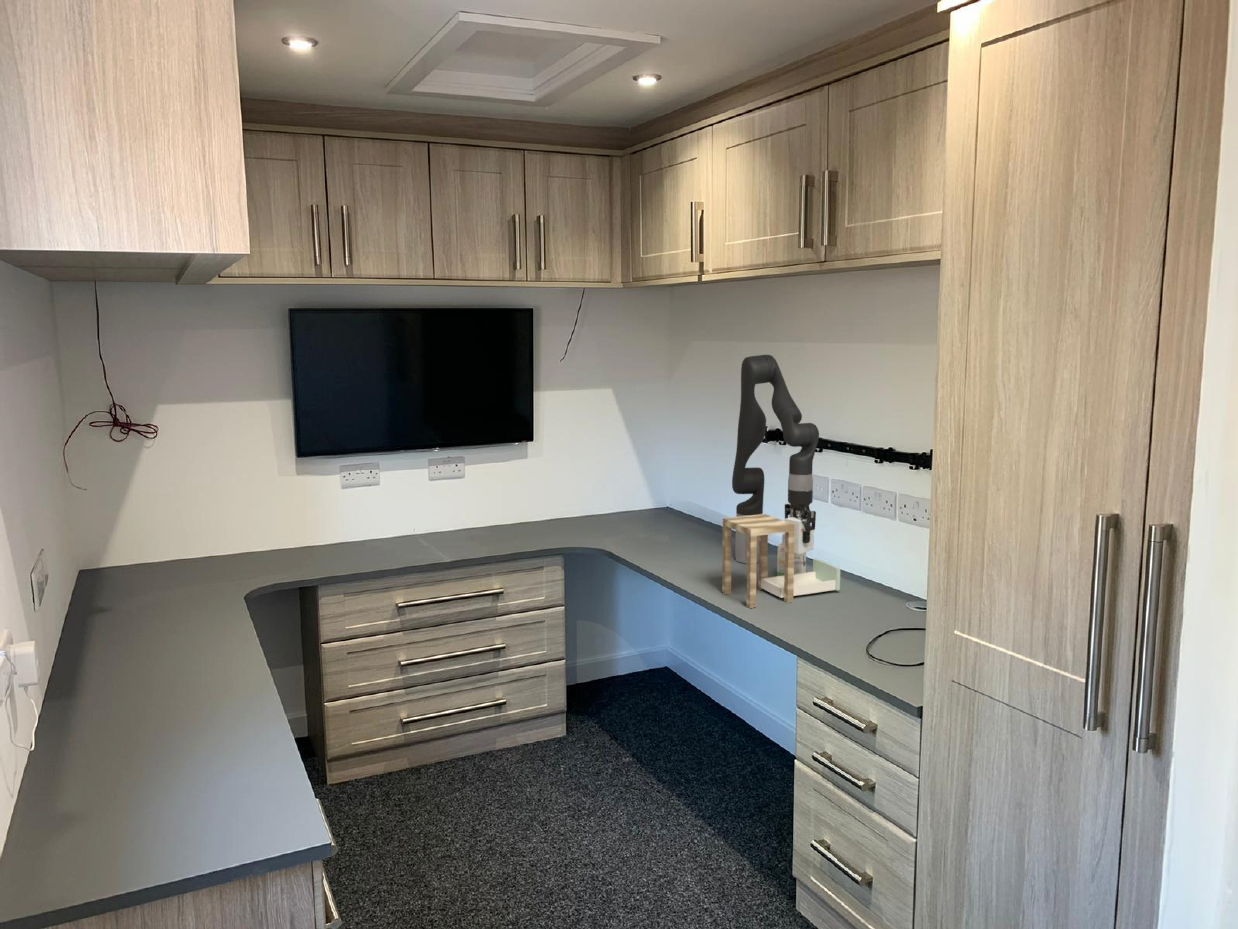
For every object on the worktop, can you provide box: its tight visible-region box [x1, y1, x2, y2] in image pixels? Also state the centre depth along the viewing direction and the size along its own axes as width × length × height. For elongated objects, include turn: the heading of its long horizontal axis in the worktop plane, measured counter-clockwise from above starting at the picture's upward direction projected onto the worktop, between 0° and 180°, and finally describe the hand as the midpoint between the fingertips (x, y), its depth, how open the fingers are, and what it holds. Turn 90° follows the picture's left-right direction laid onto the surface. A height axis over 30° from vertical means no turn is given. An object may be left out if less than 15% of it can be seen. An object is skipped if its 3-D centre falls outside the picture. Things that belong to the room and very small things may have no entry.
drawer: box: [761, 557, 841, 599], centre depth 291 cm, size 13×21×7 cm, turn 113°
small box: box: [784, 517, 815, 554], centre depth 289 cm, size 8×6×10 cm
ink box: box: [776, 533, 807, 576], centre depth 304 cm, size 9×5×15 cm, turn 62°
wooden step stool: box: [721, 513, 795, 609], centre depth 284 cm, size 17×15×24 cm
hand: (799, 540), depth 289 cm, fingers closed on small box, 7 cm apart
